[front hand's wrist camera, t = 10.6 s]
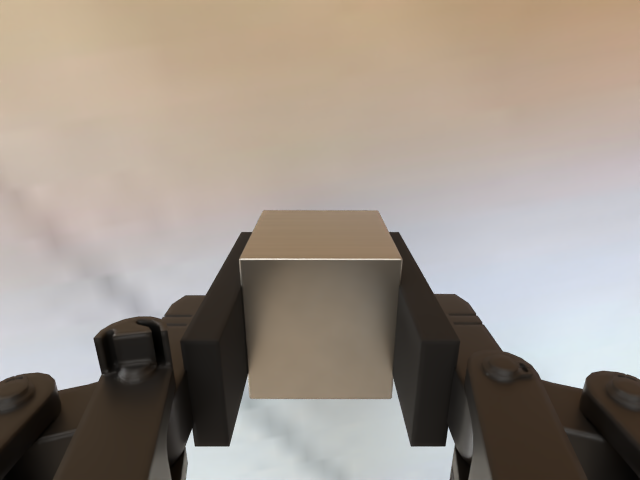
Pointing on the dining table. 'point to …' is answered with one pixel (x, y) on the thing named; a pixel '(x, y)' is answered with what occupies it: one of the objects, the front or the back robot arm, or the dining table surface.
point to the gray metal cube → (320, 305)
